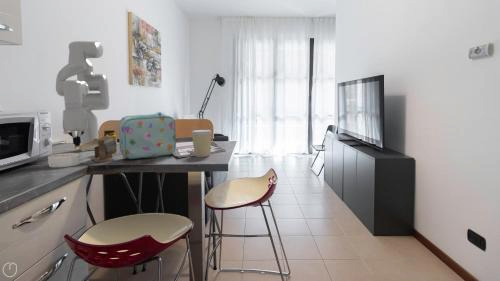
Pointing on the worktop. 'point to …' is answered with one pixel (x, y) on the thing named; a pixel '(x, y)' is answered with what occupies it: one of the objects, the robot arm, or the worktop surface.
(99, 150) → the stand
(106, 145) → the lever
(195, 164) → the worktop surface
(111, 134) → the condiment
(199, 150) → the coffee cup
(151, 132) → the lunch box
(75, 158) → the bowl
